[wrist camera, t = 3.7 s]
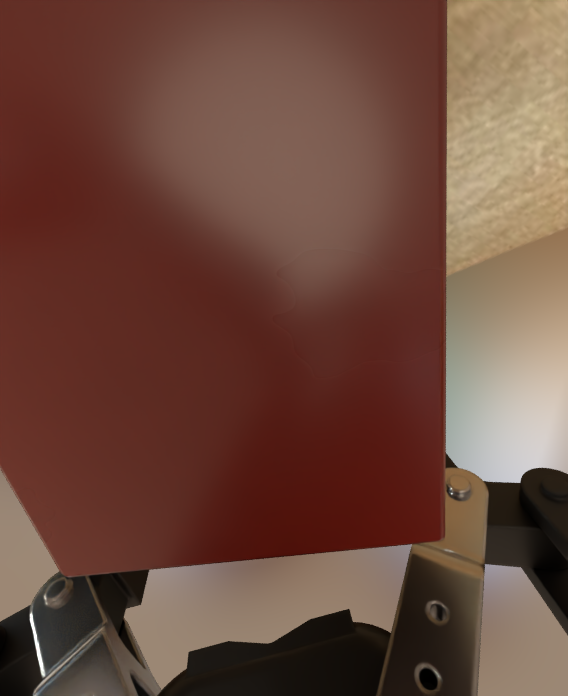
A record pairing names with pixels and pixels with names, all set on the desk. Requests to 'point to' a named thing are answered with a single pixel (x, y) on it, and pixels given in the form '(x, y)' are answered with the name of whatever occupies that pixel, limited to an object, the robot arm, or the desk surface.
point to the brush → (223, 277)
